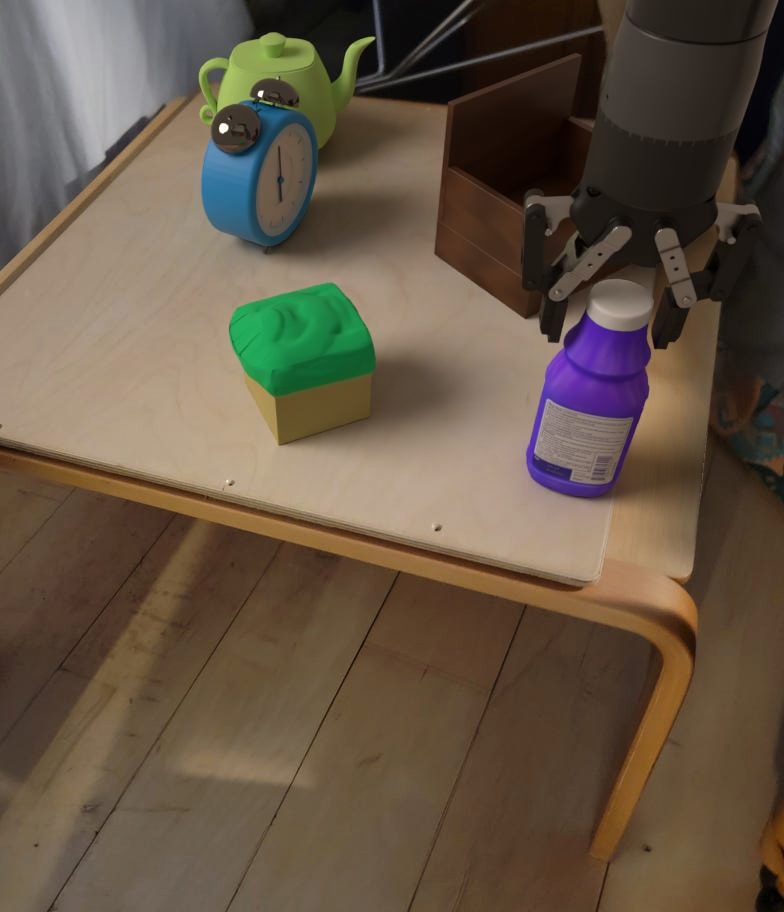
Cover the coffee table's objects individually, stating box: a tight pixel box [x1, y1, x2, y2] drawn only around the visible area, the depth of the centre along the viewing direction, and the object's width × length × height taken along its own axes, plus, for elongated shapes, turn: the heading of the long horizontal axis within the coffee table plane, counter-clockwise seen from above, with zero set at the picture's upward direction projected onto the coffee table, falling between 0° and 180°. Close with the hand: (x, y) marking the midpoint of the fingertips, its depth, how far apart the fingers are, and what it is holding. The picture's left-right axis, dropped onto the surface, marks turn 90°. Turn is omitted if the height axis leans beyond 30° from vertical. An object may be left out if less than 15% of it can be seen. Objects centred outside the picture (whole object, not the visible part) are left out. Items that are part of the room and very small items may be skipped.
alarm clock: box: [200, 75, 319, 255], centre depth 90 cm, size 13×6×15 cm, turn 150°
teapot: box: [198, 31, 376, 151], centre depth 103 cm, size 16×14×13 cm
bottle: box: [525, 278, 655, 498], centre depth 65 cm, size 7×6×17 cm
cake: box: [228, 281, 377, 446], centre depth 74 cm, size 10×11×10 cm
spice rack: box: [433, 52, 630, 320], centre depth 85 cm, size 13×16×16 cm
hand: (605, 337), depth 62 cm, fingers open, 6 cm apart
